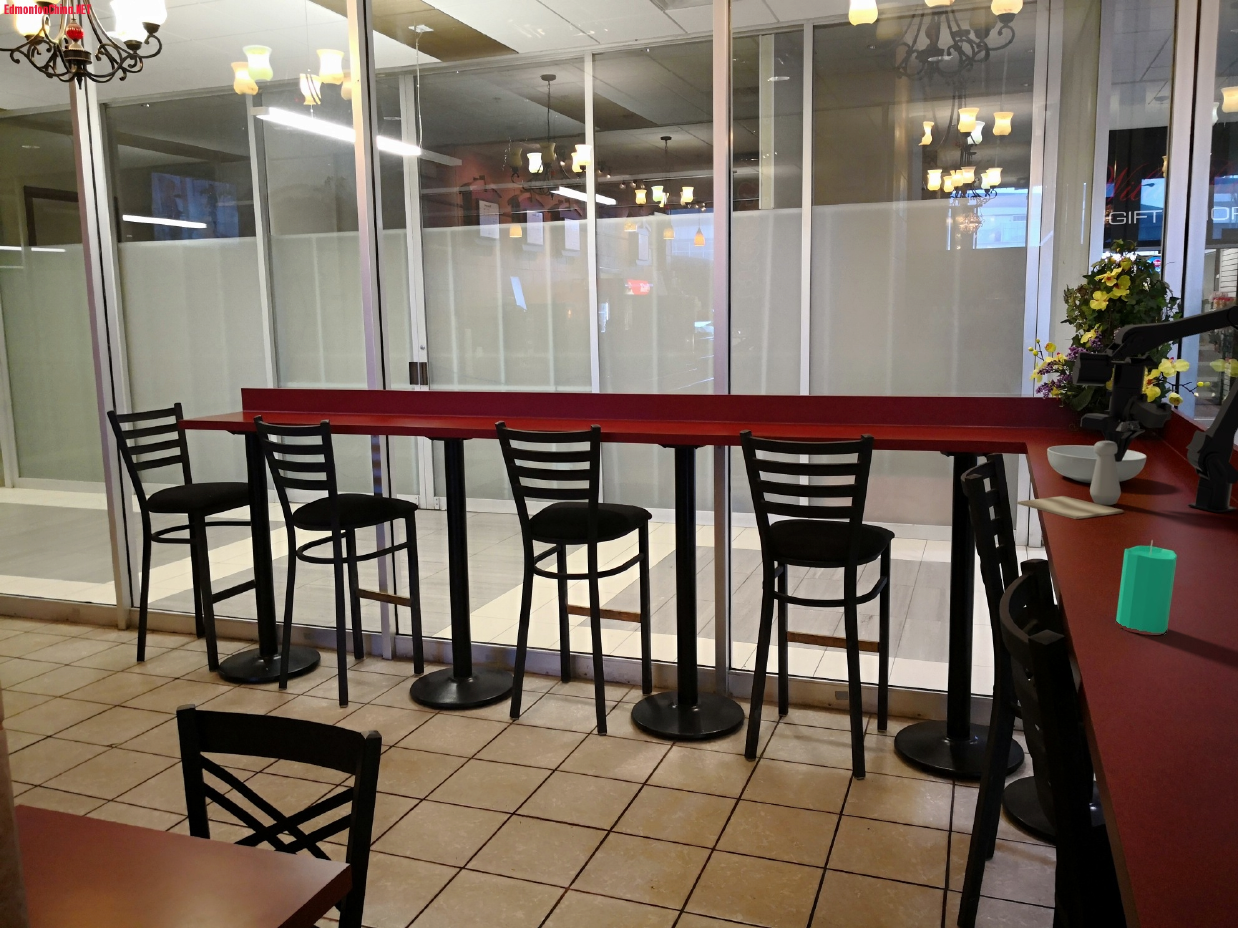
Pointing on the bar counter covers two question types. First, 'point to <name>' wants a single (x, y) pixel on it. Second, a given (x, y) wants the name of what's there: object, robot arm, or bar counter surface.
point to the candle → (1146, 588)
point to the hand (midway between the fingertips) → (1117, 461)
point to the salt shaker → (1105, 475)
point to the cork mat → (1070, 507)
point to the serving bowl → (1091, 462)
